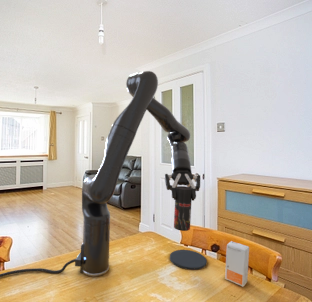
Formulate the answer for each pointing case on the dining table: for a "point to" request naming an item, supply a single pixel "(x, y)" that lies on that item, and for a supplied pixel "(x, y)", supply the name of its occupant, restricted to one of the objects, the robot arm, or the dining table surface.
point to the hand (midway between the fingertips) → (184, 198)
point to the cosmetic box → (237, 263)
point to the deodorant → (182, 208)
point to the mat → (188, 259)
